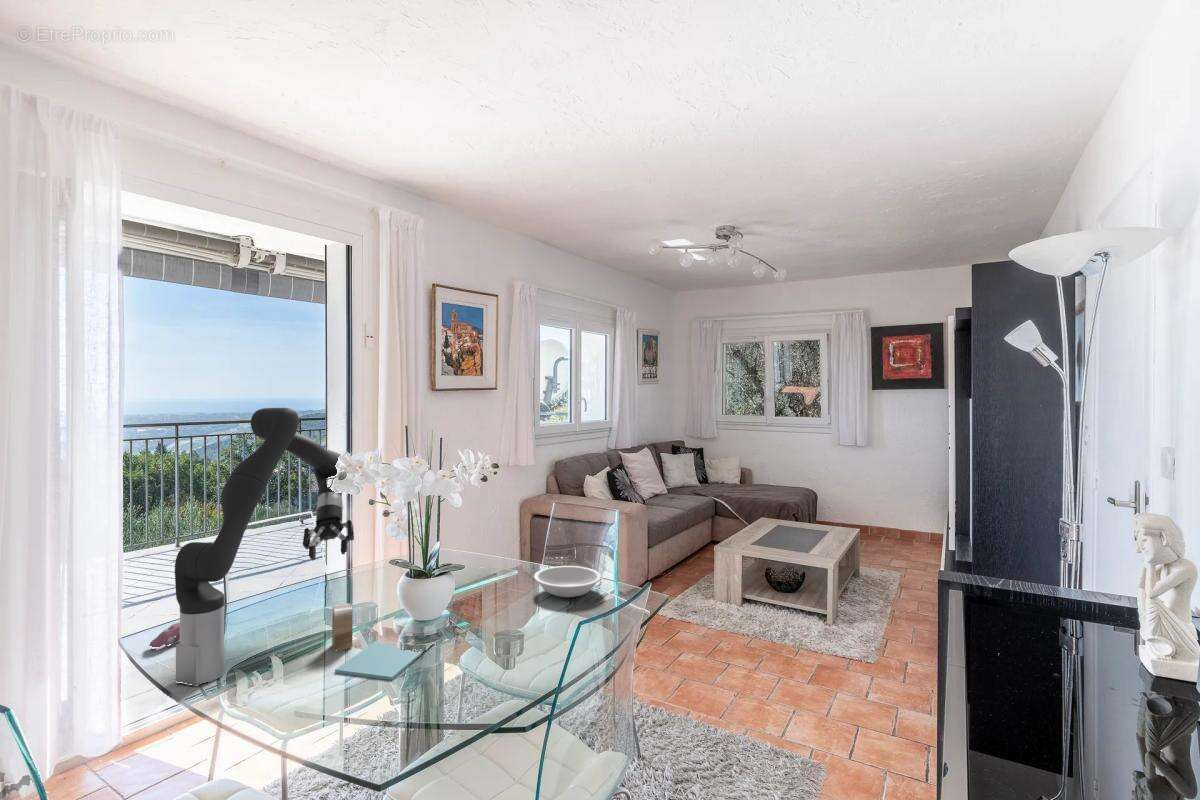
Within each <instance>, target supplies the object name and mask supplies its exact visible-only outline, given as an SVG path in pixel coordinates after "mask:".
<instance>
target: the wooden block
mask: <svg viewBox="0 0 1200 800" xmlns="http://www.w3.org/2000/svg"><path fill="white" fill-rule="evenodd" d="M353 609H354V608H353V606H352V605H351V604H350V603H345V604H339V605H333V606H332V607H331V610H332V612H331V614H332V615H331V618H332V619H331V622H332V623H331V629H332V630H331V646H332V648H334V649H333V650H335V651H334V652H337V651H336V650H339V651H343V650H342V649H344V650H347V649H346V648H349V649H352V648H353V624H354V623H353V619H354V618H353V615H354V614H353V611H354V610H353ZM351 647H352V648H351Z"/></svg>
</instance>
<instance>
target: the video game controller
mask: <svg viewBox="0 0 1200 800" xmlns="http://www.w3.org/2000/svg"><path fill="white" fill-rule="evenodd" d="M179 640H180V622H176V623H173V624H172V625H170V626H169V627H168V628H165V629H164V630H163V631H161V632H160V633H159V634H158V635H157V636H156V637H155V638H153V639H152V640H151V641H150V642H149V646H152V647H159V648H161V647H162V646H165V645H166V646H165V647H167V645H169V644H172V643H173V644H175V643H174V642H177V641H179ZM173 644H172V645H173Z"/></svg>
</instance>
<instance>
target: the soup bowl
mask: <svg viewBox="0 0 1200 800" xmlns="http://www.w3.org/2000/svg"><path fill="white" fill-rule="evenodd" d="M533 579H534V581H535V582H537V583H538V584H539V585H540V587H541V588H542V589H543V591H545V592H547V594H549V595H553V596H555V597H558V598H574V597H575V598H576V597H580V596H583V595H585V594H587V593H589V592H591V590H592V589H593V588H594V587H595V586H596V584H597V583H599V582H600V581H601V580H602V574H601V572H599V571H598V570H595V569H593V568H589V567H585V566H581V565H559V566H558V565H557V566H550V567H546V568H545V567H544V568H542V569H540V570H538V571H536V572H535V573H534V575H533Z"/></svg>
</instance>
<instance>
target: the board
mask: <svg viewBox="0 0 1200 800" xmlns="http://www.w3.org/2000/svg"><path fill="white" fill-rule="evenodd" d="M422 652H423V651H422ZM422 652H420V651H419V652H418V653H417V652H414V651H411V650H405V651H403V650H400V648H398V647H395V646H394V645H393V644H388V643H383V644H381V643H380V642H378V641H377V640H375V641H374V642H371V644H370V645H369V646H366V648H364V649H363V650H362V651H360V652H358V653H356V654H355V655H354V656H352V657H351V658H350V659H348V660H346V661H345V662H344V663H342V664H341V665H339V666H338V667H337V668H335V670H334V673H335V674H343V675H351V676H356V677H357V676H359V677H365V678H366V677H367V678H374V679H380V680H388V681H393V680H394V679H395V678H397V677H398V676H399V675H401V674H402V672H403V671H405V670H406V669H407V668H409V667H410V666H411V665H412V664H413V663H414V662H415V661H416V660H415V659H416V658H417V657H418V656H419V655H420V654H421V653H422ZM414 660H415V661H414ZM413 661H414V662H413ZM412 662H413V663H412ZM411 663H412V664H411ZM410 664H411V665H410ZM409 665H410V666H409Z"/></svg>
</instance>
